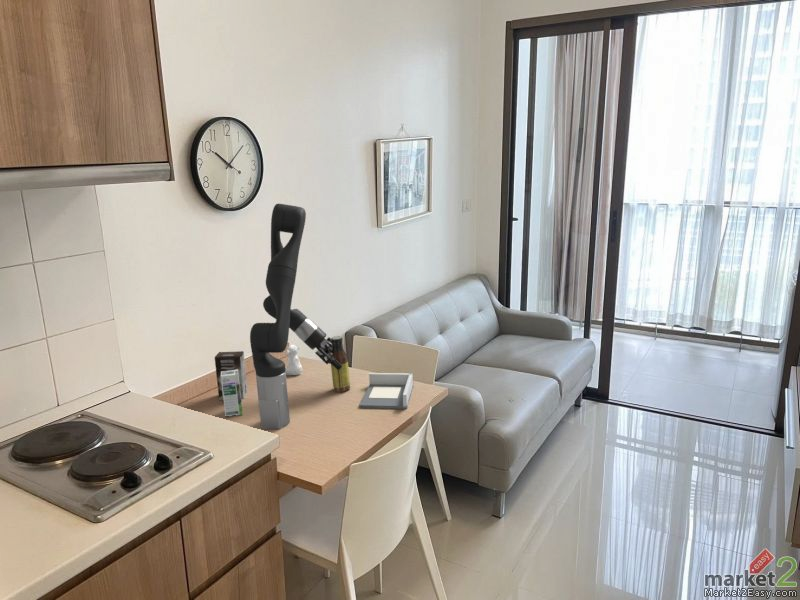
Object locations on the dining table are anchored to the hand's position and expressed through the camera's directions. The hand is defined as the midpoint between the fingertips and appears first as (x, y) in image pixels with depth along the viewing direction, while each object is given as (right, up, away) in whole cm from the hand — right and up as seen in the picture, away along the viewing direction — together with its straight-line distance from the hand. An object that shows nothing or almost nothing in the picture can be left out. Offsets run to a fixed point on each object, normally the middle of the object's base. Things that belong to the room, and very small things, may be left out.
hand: (343, 364), depth 214 cm
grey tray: (+16, -11, -6) cm, 20 cm away
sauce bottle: (-1, -10, +2) cm, 10 cm away
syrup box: (-35, -15, -14) cm, 41 cm away
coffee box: (-40, -12, 0) cm, 41 cm away
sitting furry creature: (-22, -6, +21) cm, 31 cm away
